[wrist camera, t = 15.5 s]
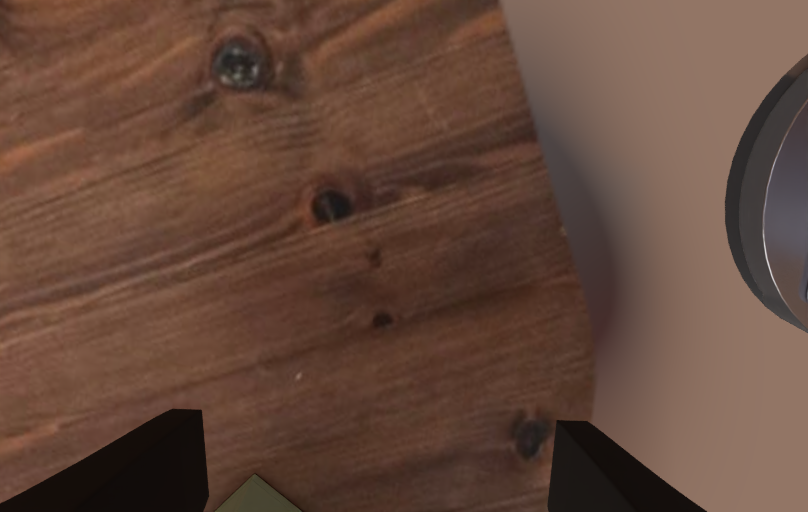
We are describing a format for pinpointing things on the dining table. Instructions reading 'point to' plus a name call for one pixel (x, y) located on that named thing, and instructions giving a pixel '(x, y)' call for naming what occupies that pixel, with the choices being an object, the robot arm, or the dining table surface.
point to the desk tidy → (257, 499)
